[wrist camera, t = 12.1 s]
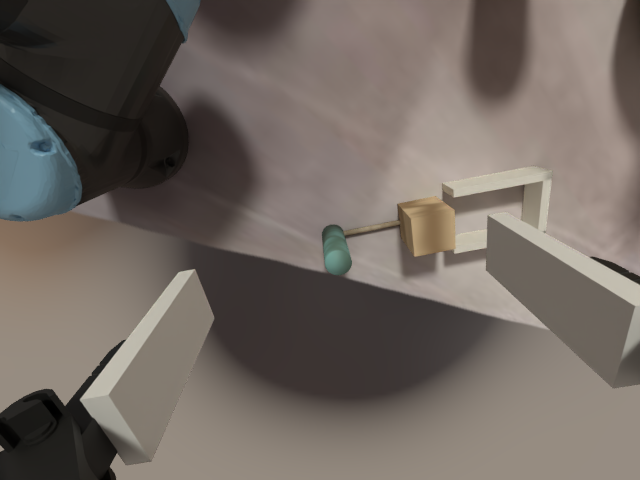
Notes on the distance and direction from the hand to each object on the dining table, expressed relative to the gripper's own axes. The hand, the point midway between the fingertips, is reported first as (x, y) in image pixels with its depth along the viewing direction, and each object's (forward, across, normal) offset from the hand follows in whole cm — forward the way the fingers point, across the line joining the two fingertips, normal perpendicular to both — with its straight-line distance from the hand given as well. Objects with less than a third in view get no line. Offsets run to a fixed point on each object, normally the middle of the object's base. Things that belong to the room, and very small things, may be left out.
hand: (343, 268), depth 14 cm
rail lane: (+35, +25, -13) cm, 45 cm away
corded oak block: (+35, +7, -13) cm, 38 cm away
